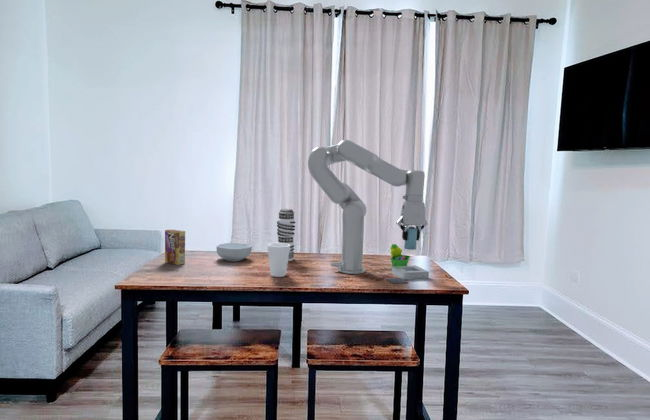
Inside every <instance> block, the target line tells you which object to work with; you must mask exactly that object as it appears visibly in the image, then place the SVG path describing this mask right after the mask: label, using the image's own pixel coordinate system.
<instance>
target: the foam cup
mask: <svg viewBox="0 0 650 420" xmlns="http://www.w3.org/2000/svg"><path fill="white" fill-rule="evenodd" d="M289 251H290V245H289V244H286V243H278V242H271V243H268V244H267V254H268V262H269V269H270V276H271V277H276V278H279V277H285V276H286V274H287V269H288V263H289V261H288V257H289Z"/></svg>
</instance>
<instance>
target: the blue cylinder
mask: <svg viewBox="0 0 650 420" xmlns="http://www.w3.org/2000/svg"><path fill="white" fill-rule="evenodd" d="M407 232H408V237H407V241H405V240H404V246H403V247H404V250H410V251H413V250H416V249H417V228H416V226H408V228H407Z"/></svg>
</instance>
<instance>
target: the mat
mask: <svg viewBox="0 0 650 420" xmlns="http://www.w3.org/2000/svg"><path fill="white" fill-rule="evenodd" d="M385 280H386V281H388V282H389V283H390V284H392V285H401V284H409V282H408V281H407V280H403V279H402V278H400V277H396V278H395V277H393V278H389V277H388V278H385Z"/></svg>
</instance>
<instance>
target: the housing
mask: <svg viewBox="0 0 650 420" xmlns="http://www.w3.org/2000/svg"><path fill="white" fill-rule="evenodd" d="M391 274H393V275H394V276H396V277H397V278H402V279H403V280H405V281H407V280H409V281H410V280H424V279H425V280H426V279H427V280H428V279H429V277H430V276H429V275H430V271H428V270H426V269H424V268H422V267H420V266H417V265H407V266H392V265H391Z"/></svg>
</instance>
